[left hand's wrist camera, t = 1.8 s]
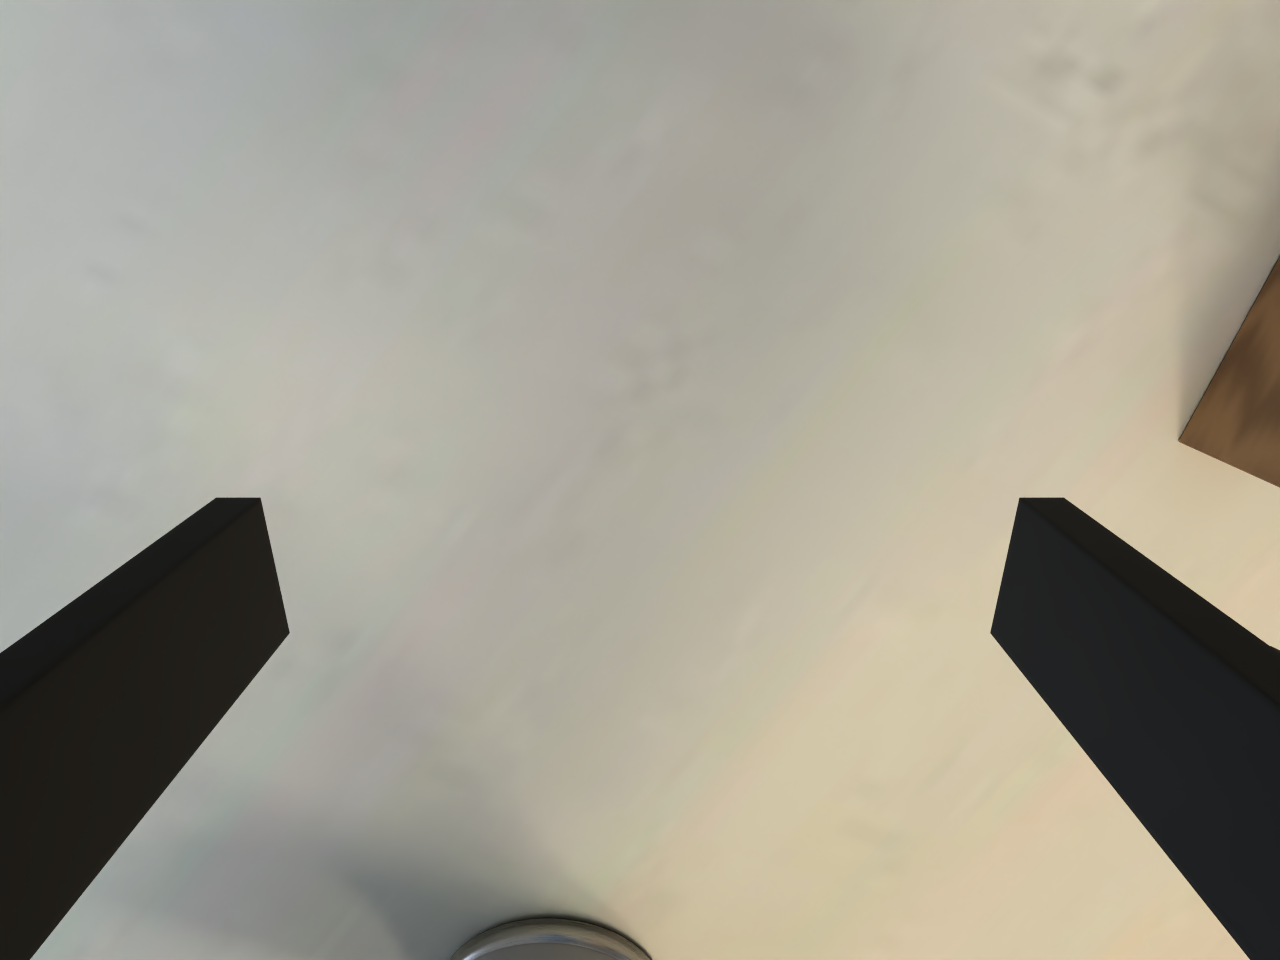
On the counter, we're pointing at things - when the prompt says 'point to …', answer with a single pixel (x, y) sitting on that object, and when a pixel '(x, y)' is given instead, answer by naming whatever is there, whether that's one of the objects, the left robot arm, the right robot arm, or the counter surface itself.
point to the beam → (1246, 395)
